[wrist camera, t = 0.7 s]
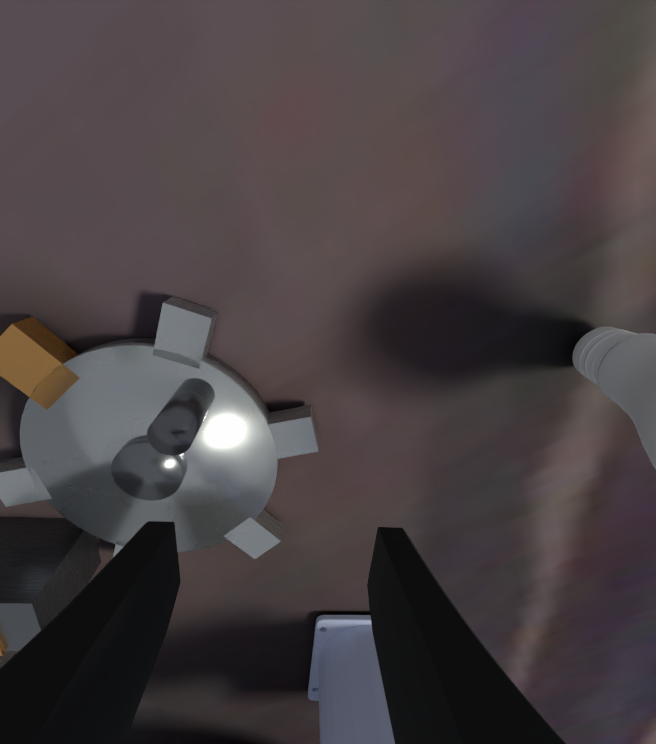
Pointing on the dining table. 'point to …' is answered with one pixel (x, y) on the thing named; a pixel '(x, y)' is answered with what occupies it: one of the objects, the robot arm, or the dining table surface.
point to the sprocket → (148, 434)
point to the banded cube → (40, 574)
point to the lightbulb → (623, 375)
